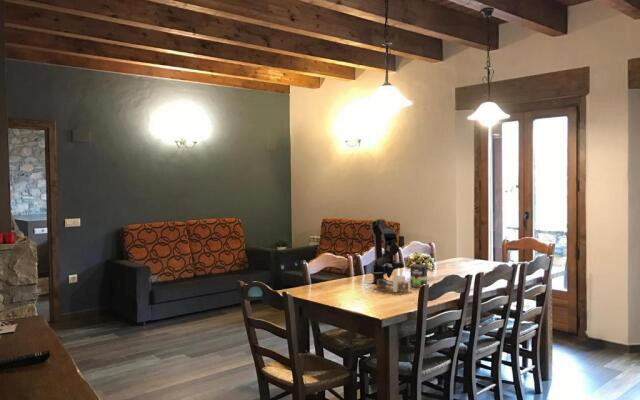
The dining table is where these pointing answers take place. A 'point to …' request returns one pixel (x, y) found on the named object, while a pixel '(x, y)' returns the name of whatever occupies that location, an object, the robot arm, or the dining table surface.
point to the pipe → (390, 283)
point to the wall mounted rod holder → (389, 290)
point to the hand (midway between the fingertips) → (388, 277)
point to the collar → (395, 282)
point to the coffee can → (418, 276)
